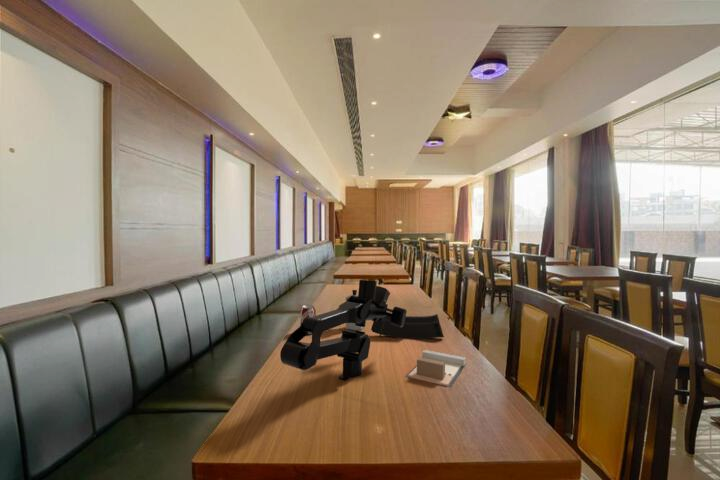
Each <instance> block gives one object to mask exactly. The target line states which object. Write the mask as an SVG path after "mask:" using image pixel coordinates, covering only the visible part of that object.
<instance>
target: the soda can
mask: <svg viewBox="0 0 720 480" xmlns="http://www.w3.org/2000/svg"><path fill="white" fill-rule="evenodd" d="M316 311H317V310H316V308H315V305H313V304H306V305H302V306H301V309H300V310H299V312H300V313H299V315H300V316H299V319H300V320H299V321H300V323H299V324H300V325H299V327H300V326H301V324H302V322H303V320H304V319H305V318H308V317H314V316H317V314H316ZM309 335H311V336H312V333H308V334H307V335H306V336H309Z"/></svg>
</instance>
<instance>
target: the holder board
mask: <svg viewBox="0 0 720 480" xmlns="http://www.w3.org/2000/svg"><path fill="white" fill-rule="evenodd" d="M421 355H422V357H421V358H426V359H431V360H436V361H441V362H446V363H451V364H456V365H461V368H460V369H459V371H458V372H457V374H456V375H455V377H454V378H453V379H452V381H451V382H450V384H449V385H448V386H444V385H440V384H436V383H433V384H434V385H439V386H442V387H446V388H447V387H448V388H449V389H450V388H452V387H453V386H454V384H455V382H456V381H457V380H458V378H459V377H460V375H461V373H462V371H463V370H464V369H465V367H466V365H467V363H466V357H465V356H461V355H460V356H459V355H453V354H449V353H443V352H438V351H432V350H427V349H424V350H423V351H422V354H421ZM416 367H417V364H416V365H415V366H414V367H413V368H412V369H411V370H410V371H409V372H408V373H407V374H406V375H405V377H406V378H408V379H409V378H410V377H408V375H409V374H410V373H411V372H412V371H413V370H414V369H415V368H416ZM412 379H414V380H417V381H419V379H415V378H412ZM420 381H422V382H423V380H420ZM424 382H426V383H427V381H424ZM428 383H429V384H432V383H431V382H428Z"/></svg>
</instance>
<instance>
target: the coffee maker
mask: <svg viewBox="0 0 720 480" xmlns="http://www.w3.org/2000/svg"><path fill="white" fill-rule="evenodd" d="M351 291H352V294H351V295H348V296H345V302H346V301H347V299H349V298H350V296H358V293H357V292H358V290H357V289H352V290H351ZM364 328H365V327H361V326H356V325H355V323H345V328H344V330H347V329H352V330H357V331H363V329H364Z"/></svg>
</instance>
